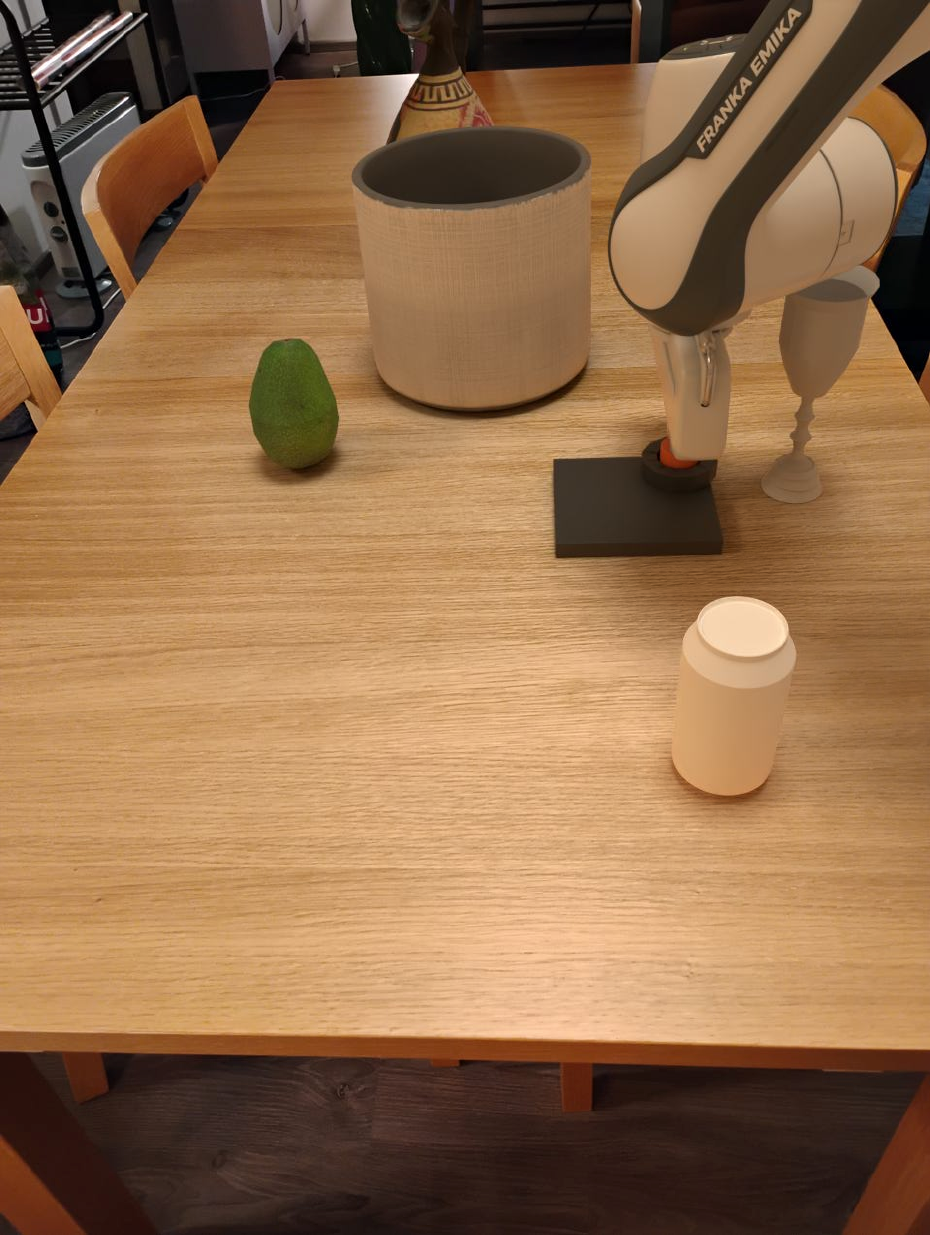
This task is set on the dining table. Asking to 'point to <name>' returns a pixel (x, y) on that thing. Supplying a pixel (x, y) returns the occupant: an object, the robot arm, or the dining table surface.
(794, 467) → the chalice
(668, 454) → the button
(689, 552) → the scale
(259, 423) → the avocado
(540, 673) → the dining table surface
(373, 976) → the dining table surface
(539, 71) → the dining table surface
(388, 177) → the planter
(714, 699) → the beverage can
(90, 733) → the dining table surface
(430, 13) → the ceramic jug
